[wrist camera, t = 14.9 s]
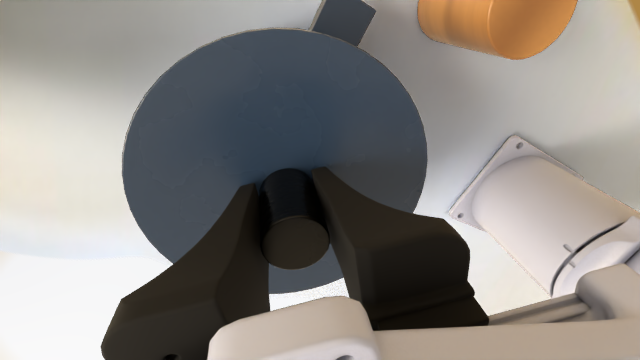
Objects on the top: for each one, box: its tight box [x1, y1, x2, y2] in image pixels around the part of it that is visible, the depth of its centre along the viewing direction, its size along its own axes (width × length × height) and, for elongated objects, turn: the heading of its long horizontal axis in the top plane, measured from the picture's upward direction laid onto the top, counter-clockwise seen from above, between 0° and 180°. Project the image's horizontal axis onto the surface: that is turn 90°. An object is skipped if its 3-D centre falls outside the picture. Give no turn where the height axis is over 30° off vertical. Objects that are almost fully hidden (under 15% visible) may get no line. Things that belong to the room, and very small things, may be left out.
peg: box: [418, 0, 578, 60], centre depth 16 cm, size 4×4×7 cm
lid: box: [122, 28, 427, 294], centre depth 13 cm, size 13×13×4 cm
